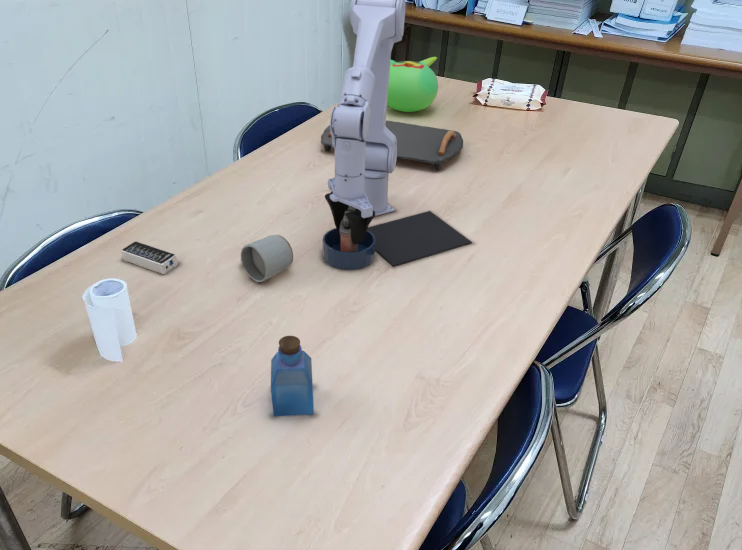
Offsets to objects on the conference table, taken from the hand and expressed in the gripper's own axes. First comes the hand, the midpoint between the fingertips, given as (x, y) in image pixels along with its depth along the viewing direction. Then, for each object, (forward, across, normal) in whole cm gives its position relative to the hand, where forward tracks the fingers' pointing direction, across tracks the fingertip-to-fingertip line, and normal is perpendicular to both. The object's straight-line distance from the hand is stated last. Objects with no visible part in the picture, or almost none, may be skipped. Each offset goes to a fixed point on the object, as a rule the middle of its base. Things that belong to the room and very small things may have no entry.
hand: (349, 234), depth 131 cm
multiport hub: (+5, -17, -37) cm, 41 cm away
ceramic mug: (+5, -3, -18) cm, 19 cm away
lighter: (+5, 0, 0) cm, 5 cm away
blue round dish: (+5, 0, 0) cm, 5 cm away
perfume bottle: (+5, +34, -29) cm, 45 cm away
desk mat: (+5, 0, +16) cm, 17 cm away
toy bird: (+5, -67, +58) cm, 89 cm away
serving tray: (+5, -44, +38) cm, 58 cm away
